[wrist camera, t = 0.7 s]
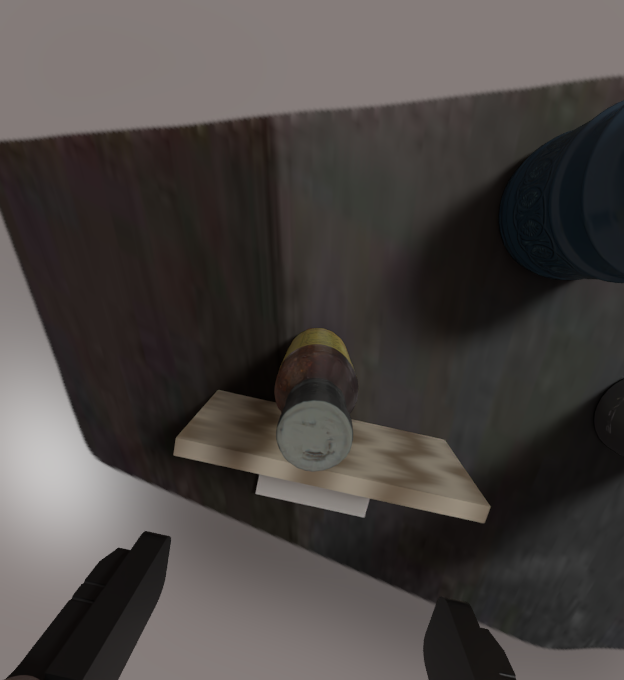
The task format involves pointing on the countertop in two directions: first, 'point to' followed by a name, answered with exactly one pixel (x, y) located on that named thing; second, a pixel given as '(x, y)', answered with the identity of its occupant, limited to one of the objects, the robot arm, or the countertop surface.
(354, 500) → the white plate
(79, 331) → the countertop surface
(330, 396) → the sauce bottle
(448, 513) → the birch board
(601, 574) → the countertop surface
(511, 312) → the countertop surface
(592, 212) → the canister
